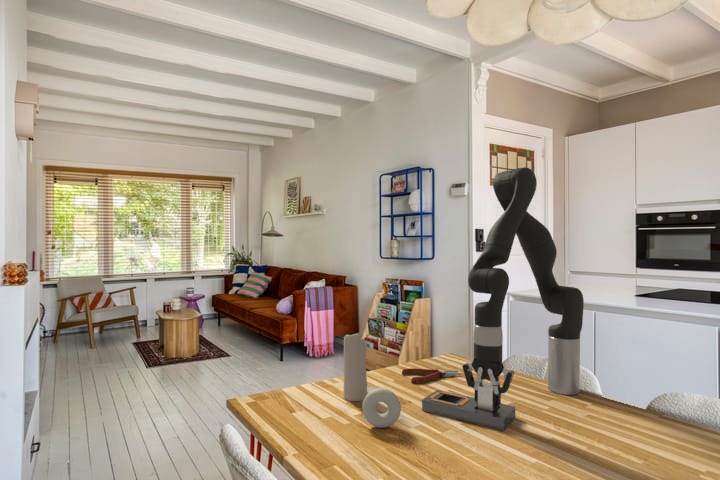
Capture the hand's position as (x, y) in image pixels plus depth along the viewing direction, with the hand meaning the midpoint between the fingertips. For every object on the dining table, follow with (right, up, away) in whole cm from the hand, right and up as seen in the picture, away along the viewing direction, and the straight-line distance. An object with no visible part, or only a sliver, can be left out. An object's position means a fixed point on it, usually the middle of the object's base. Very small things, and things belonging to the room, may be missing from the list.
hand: (487, 404), depth 121 cm
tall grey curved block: (-34, -4, +19) cm, 39 cm away
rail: (-4, -4, +3) cm, 7 cm away
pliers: (-9, -4, +34) cm, 36 cm away
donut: (-29, -4, -6) cm, 30 cm away
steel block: (0, -4, 0) cm, 4 cm away
